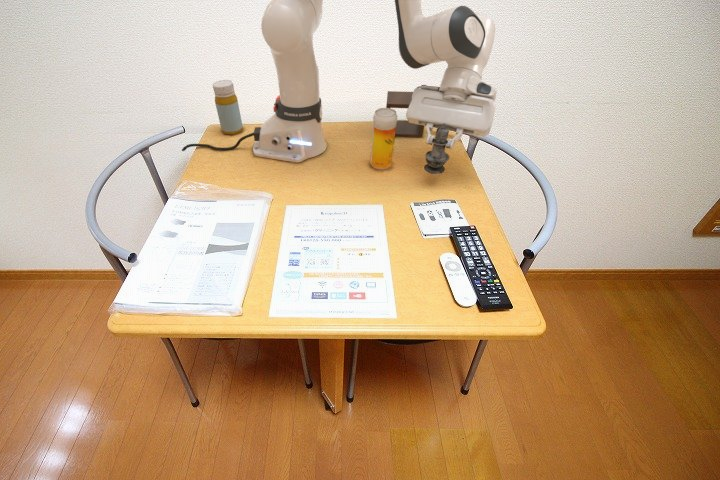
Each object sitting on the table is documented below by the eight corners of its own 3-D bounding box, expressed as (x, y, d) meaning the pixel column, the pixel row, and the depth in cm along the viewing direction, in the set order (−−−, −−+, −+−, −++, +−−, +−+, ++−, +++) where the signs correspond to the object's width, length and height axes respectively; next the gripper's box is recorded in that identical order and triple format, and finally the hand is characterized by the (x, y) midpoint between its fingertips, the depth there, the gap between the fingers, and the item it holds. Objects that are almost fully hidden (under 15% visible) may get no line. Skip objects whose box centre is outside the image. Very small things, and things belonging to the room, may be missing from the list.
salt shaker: (446, 175, 91) (458, 129, 82) (422, 173, 92) (431, 127, 83) (445, 163, 95) (456, 118, 86) (422, 161, 96) (431, 116, 87)
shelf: (383, 135, 115) (386, 103, 108) (384, 122, 122) (387, 91, 115) (422, 137, 114) (427, 104, 106) (421, 123, 120) (426, 92, 113)
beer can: (392, 170, 101) (399, 116, 90) (370, 170, 101) (374, 117, 90) (390, 159, 105) (396, 106, 94) (369, 159, 105) (372, 107, 94)
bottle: (217, 132, 121) (206, 85, 110) (231, 124, 125) (221, 78, 114) (233, 137, 118) (223, 89, 107) (247, 128, 122) (238, 81, 111)
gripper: (414, 77, 88) (396, 132, 89) (504, 89, 81) (483, 149, 82) (417, 90, 94) (399, 142, 95) (500, 102, 87) (480, 158, 88)
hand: (439, 145), depth 88 cm, fingers closed on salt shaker, 3 cm apart
